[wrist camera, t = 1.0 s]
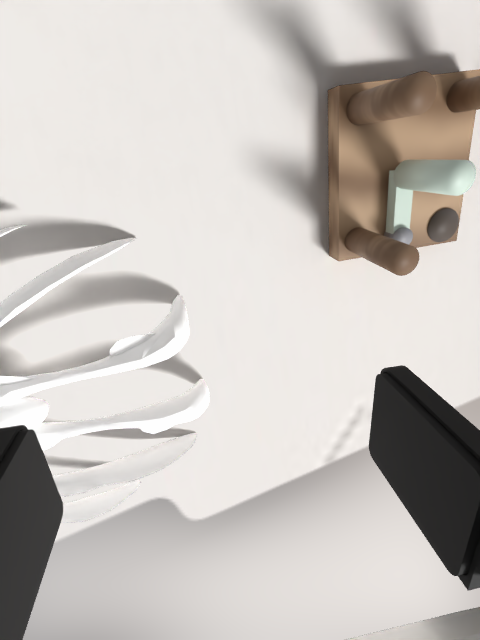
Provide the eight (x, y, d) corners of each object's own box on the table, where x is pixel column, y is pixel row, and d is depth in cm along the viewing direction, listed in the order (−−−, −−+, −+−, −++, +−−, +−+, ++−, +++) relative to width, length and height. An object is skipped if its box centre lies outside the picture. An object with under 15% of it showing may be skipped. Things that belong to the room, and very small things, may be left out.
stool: (327, 90, 33) (395, 61, 23) (461, 74, 35) (577, 41, 25) (329, 255, 40) (381, 287, 30) (440, 236, 42) (525, 260, 32)
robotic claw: (148, 191, 38) (-346, 300, 28) (168, 200, 27) (-638, 385, 17) (214, 428, 53) (-95, 551, 43) (245, 497, 41) (-163, 684, 32)
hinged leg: (403, 241, 38) (461, 262, 31) (380, 245, 38) (434, 267, 30) (410, 157, 35) (478, 157, 27) (385, 161, 34) (447, 162, 27)
